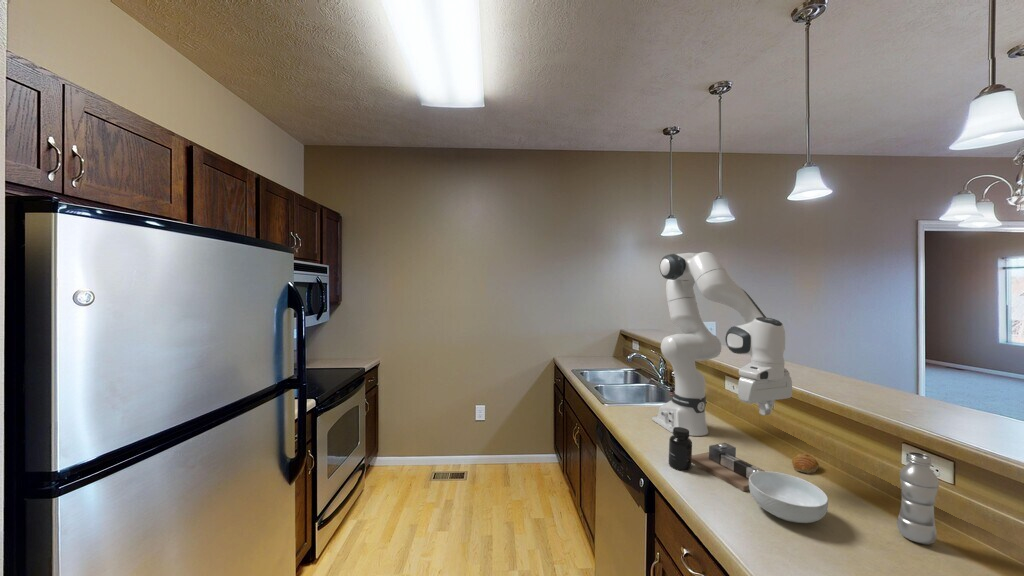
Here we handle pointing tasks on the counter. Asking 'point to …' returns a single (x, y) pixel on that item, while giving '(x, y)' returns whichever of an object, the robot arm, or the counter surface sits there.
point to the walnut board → (721, 471)
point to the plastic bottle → (918, 499)
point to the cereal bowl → (788, 496)
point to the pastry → (805, 463)
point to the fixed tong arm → (737, 466)
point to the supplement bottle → (680, 449)
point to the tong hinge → (721, 452)
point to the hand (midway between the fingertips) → (765, 414)
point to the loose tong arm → (743, 462)
